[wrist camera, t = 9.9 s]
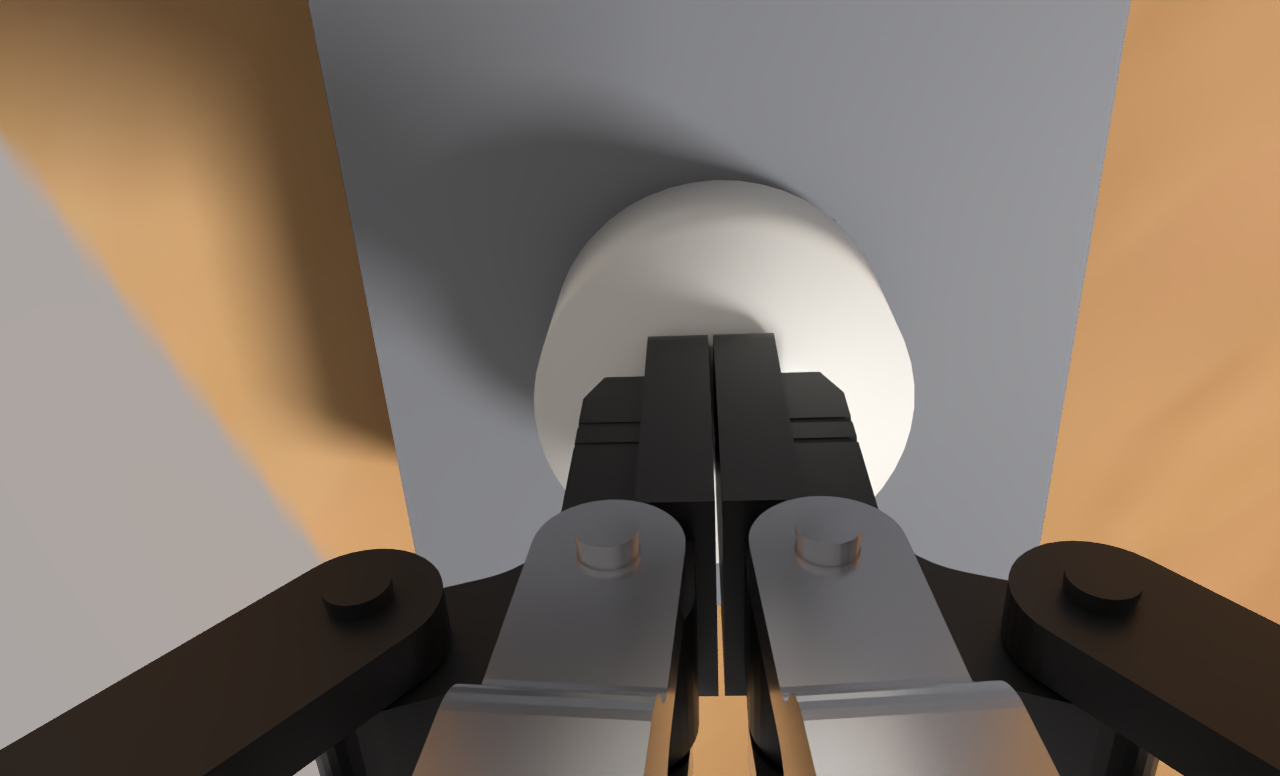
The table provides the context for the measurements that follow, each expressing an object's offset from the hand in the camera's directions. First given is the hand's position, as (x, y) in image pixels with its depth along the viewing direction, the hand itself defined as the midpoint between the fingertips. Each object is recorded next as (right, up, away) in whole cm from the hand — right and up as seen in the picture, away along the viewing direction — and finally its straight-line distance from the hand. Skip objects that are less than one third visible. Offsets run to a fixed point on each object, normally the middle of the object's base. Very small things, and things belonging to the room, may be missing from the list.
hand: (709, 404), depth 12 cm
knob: (0, +3, +5) cm, 6 cm away
